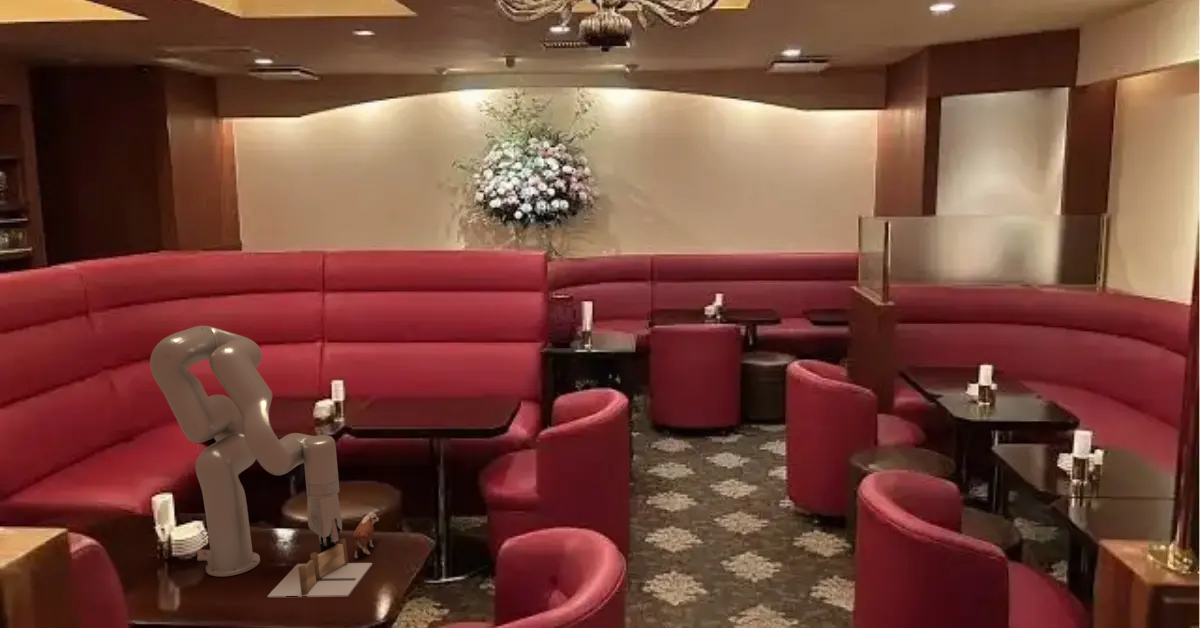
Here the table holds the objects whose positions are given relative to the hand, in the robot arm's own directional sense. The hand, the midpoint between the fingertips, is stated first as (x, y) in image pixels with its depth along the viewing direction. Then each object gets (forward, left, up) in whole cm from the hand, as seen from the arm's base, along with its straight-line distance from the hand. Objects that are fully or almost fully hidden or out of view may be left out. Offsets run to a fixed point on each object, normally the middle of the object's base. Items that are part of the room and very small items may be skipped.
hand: (329, 558), depth 231 cm
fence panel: (+2, -4, -1) cm, 4 cm away
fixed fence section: (0, -12, -2) cm, 12 cm away
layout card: (+1, -7, -2) cm, 8 cm away
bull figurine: (+6, +10, -3) cm, 12 cm away
